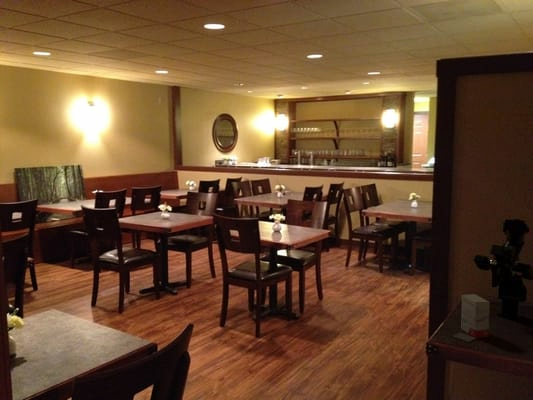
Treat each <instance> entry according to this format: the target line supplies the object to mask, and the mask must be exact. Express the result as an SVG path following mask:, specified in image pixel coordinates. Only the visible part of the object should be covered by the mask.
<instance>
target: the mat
mask: <svg viewBox="0 0 533 400" xmlns="http://www.w3.org/2000/svg"><path fill="white" fill-rule="evenodd" d="M452 338H454V339H458V340H460V341H463V342H465V343H471V342H474V341H476V340H477V338H475V337H473V336H472V335H470V334H467V333H466V334H465V333H462V332H458V333H456V334H454V335H452Z"/></svg>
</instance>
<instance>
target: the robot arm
mask: <svg viewBox="0 0 533 400" xmlns="http://www.w3.org/2000/svg"><path fill="white" fill-rule="evenodd" d="M501 230H502V233H503V236H504V235H506V241H505V243H504V244H503V245H502V246H499V245H498V244H492V245H491V248H490V252H489V254H490V255H493V256H492V259H491V260H490V259H489V257H488V255H482V254H475V256H474V257H473V258H472V259H473V262H474V263H475V266H476V267H477V269H479V270H483V271H485V272H486V271H490V272H491V287H492V288H497V294H496V295H497V299H498V300H501V301H500V303H501V305H500V311H499V312H496V315H497V316H500V317H504V318H506V319H511V320H517V319H520V318H521V317H523V316H524V315H523V314H521V313H520V303H521V302H522V303H525V302H526V301H527V294H528V289H527V287H526V284H524V280H529V281H533V267H532V266H531V264H530V263H525V262H520V259H519V257H518V256H519V254H520V252H521V250H522V251H523V248H524V246H525V244H526V242H525V239H526V236H527V234H528V233H530V227H529V226H528V223H527V222H526V221H525V219H520V218H518V219H517V218H514V219H512V218H511V219H510V218H509V219H508V218H506V219H504V221H503V222H502V228H501ZM493 259H494V260H493ZM516 261H519V263H517V265H516ZM518 273H520V274H518Z"/></svg>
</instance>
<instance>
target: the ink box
mask: <svg viewBox="0 0 533 400" xmlns="http://www.w3.org/2000/svg"><path fill="white" fill-rule="evenodd" d="M460 314H461V322H460V329H461V330H462V331H463V332H465V333H466V334H467V335H469V336H471V337H474V338H476V339H484V338H489V337H490V301H488V300H487V299H485V298H483V297H481V296H480V295H477V294H476V293H473V294H461V313H460Z"/></svg>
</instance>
